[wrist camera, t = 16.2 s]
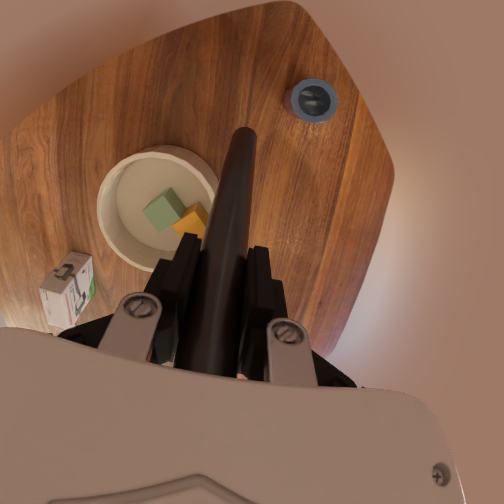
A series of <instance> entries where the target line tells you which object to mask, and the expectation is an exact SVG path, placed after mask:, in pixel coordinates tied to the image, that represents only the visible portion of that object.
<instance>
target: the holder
mask: <svg viewBox="0 0 504 504" xmlns="http://www.w3.org/2000/svg"><path fill="white" fill-rule="evenodd" d="M283 103H284V107H285V109H286V111H287V112H288V113H289V114H290V115H292V116H293V117H294V118H297V119H301V120H304V121H307V122H311V123H314V124H316V123H320V122H325V121H327V120H328V119H330V118H331V117H332V116H333V115H334V114H335V112H336V108H337V104H338V99H337V96H336V92H335V90H334V89H333V88H332V87H331V86H330V84H329V83H328V82H326V81H324V80H321V79H317V78H309V79H305V80H301V81H299V82H297V83H294V84H292V85H291V86H290V87H289V88H288V89H287V90H286V91H285V93H284V97H283Z"/></svg>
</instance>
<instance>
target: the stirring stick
mask: <svg viewBox="0 0 504 504" xmlns="http://www.w3.org/2000/svg"><path fill="white" fill-rule="evenodd" d="M256 144H257V135H256V133H255V131H254V130H252V129H251V128H248V127H241V128H238V129H237V130H236V131H235V132H234V134H233V136H232V140H231V143H230V146H229V149H228V152H227V156H226V159H225V162H224V165H223V169H222V172H221V176H220V179H219V182H218V186H217V189H216V193H215V196H214V200H213V203H212V207H211V210H210V214H209V218H208V221H207V225H206V229H205V232H204V236H203V240H202V244H201V249H200V254H199V258H198V262H197V266H196V270H195V274H194V278H193V282H192V287H191V291H190V295H189V299H188V304H187V308H186V312H185V317H184V321H183V326H182V331H181V334H180V336H179V340H178V345H177V350H176V354H175V359H174V364H173V368H177V369H182V370H188V371H193V372H199V373H204V374H210V375H216V376H223V377H230V378H237V372H238V359H239V346H240V345H239V340H240V328H241V316H242V304H243V292H244V280H245V268H246V259H247V249H248V237H249V225H250V213H251V202H252V190H253V179H254V167H255V156H256Z"/></svg>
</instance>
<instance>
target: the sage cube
mask: <svg viewBox="0 0 504 504" xmlns="http://www.w3.org/2000/svg"><path fill="white" fill-rule="evenodd" d="M185 210H186V207H185V206H184V204H183V203H182V202H181V200H180V199H179V198H178V196H177V195H176V194H175V192H174V191H173V190H172V188H171V187H170V188H168V189H167V190H166V191H164V192H163V193H161V194H160V195H159V196H157V197H156V198H154V199H153V200H152V201H150V203H149V204H148V205H147V206H146V207H145V208H144V209H143V210H142V212H143V213H144V215H145V216H146V217H147V218H148V220H149V221H150V222H151V224H152V225H153V226H154V227H155V229H156V230H157V231H158V232H159V233H160V232H162V231H163V230H165V229H166V228H168V227H169V226H171V225H172V224H174V223H175V222H177V221H178V220H180V219H181V217H182V215H183V214H184V212H185Z"/></svg>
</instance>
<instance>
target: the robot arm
mask: <svg viewBox="0 0 504 504" xmlns="http://www.w3.org/2000/svg"><path fill="white" fill-rule="evenodd" d="M197 237H198V234H193V233H188V232H184V235H183V237H182V239H181V241H180V243H179V246H178V248H177V250H176V252H175V255H174V257H173V259H172V260H168V259H163V258H160V259H159V261H158V263H157V265H156V267H155V269H154V271H153V273H152V275H151V277H150V279H149V281H148V283H147V285H146V287H145V289H144V291H143V292H134V293H131V294H128V295H126V296H125V297H123V299H122V300H121V301H120V303H119V305H118V307H117V309H116V311H115V313H114V314H111V315H108V316H105V317H102V318H99V319H96V320H93V321H90V322H87V323H84V324H81V325H78V326H75V327H72V328H69V329H66V330H64V331H62V332H61V333H60V334H59V335H58V336H57V337H56V336H53V334H52V333H43V332H39V331H35V330H31V329H24V328H15V327H4V328H0V504H466V502H465V497H464V493H463V490H462V486H461V482H460V478H459V474H458V471H457V468H456V464H455V461H454V458H453V455H452V452H451V449H450V447H449V444H448V441H447V439H446V436H445V434H444V431H443V429H442V427H441V425H440V423H439V421H438V419H437V417H436V415H435V414H434V412H433V411H432V409H431V408H430V407H429V406H428V405H427V404H426V403H425V402H423V401H422V400H420V399H418V398H416V397H414V396H411V395H408V394H405V393H401V392H397V391H391V390H384V389H372V388H365V387H361V388H357V386H356V384H355V383H354V381H352V380H351V379H350V378H349V377H348V376H346V375H345V374H344V373H342V372H341V371H339V370H338V369H337V368H335V367H334V366H333V365H331V364H330V363H329V362H327V361H326V360H325V359H323V358H322V357H321V356H319V355H318V354H317V353H315V352H314V351H313V350H311V347H310V342H309V337H308V333H307V331H306V329H305V328H304V327H303V326H302V325H301V324H300V323H298V322H297V321H294V320H292V319H289V318H288V315H287V308H286V302H285V296H284V289H283V283H282V281H280V280H274V279H272V277H271V268H270V260H269V251H268V248H266V247H261V246H256V245H255V247H254V249H253V248H249V251H248V255H247V259H246V268H245V280H244V292H243V304H242V316H241V328H240V340H239V345H240V346H239V359H238V372H237V373H238V374H243V375H244V376H245V377H247V378H248V380H245V379H237V378H230V377H223V376H216V375H210V374H204V373H199V372H193V371H188V370H182V369H177V368H172V367H168V366H163V365H161V364H163V363H165V362H168V361H169V362H173V359H174V355H175V354H176V350H177V345H178V340H179V336H180V334H181V331H182V326H183V321H184V317H185V312H186V308H187V304H188V299H189V295H190V291H191V287H192V282H193V278H194V274H195V270H196V266H197V262H198V258H199V254H200V249H201V243H202V239H201V238H197Z"/></svg>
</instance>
